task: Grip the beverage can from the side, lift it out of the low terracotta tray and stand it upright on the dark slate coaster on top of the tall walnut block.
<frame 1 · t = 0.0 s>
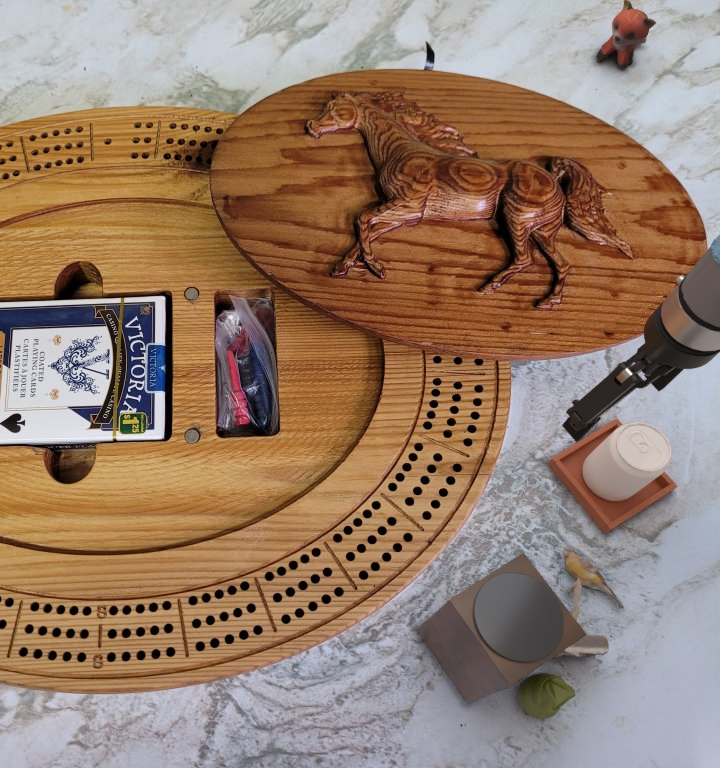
hand: (612, 407, 105), 21 cm above the countertop, tool pointing down, fingers open, 13 cm apart
green pointed bulb: (532, 698, 109), on the countertop
beverage can: (608, 477, 122), resting on tray
tray: (607, 477, 122), on the countertop
stuffed fox: (620, 57, 160), on the countertop
coaster: (517, 617, 94), resting on stand
decorative sculpture: (577, 613, 114), on the countertop
stand: (473, 644, 112), on the countertop
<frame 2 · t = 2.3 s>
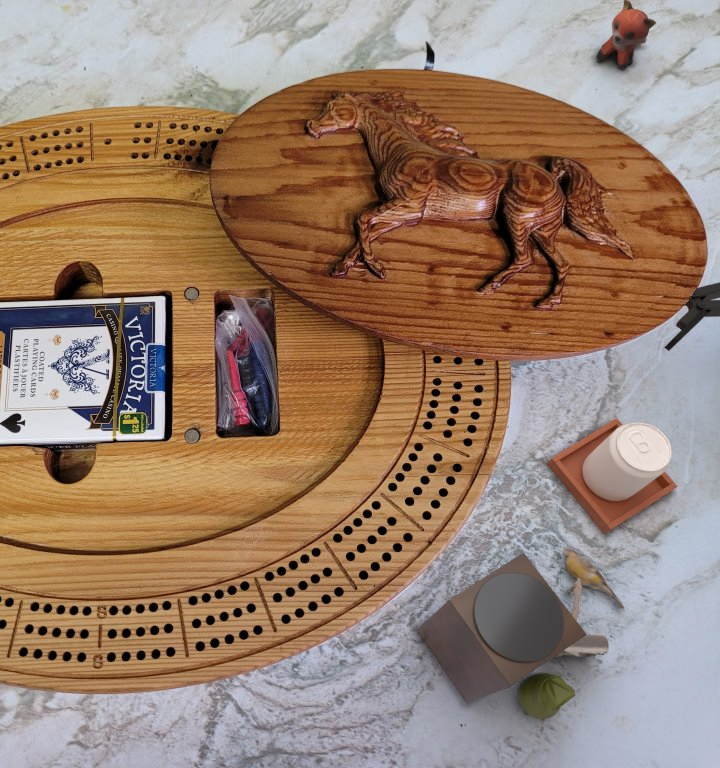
hand: (715, 379, 106), 20 cm above the countertop, tool horizontal, fingers open, 13 cm apart
nothing on the countertop moved.
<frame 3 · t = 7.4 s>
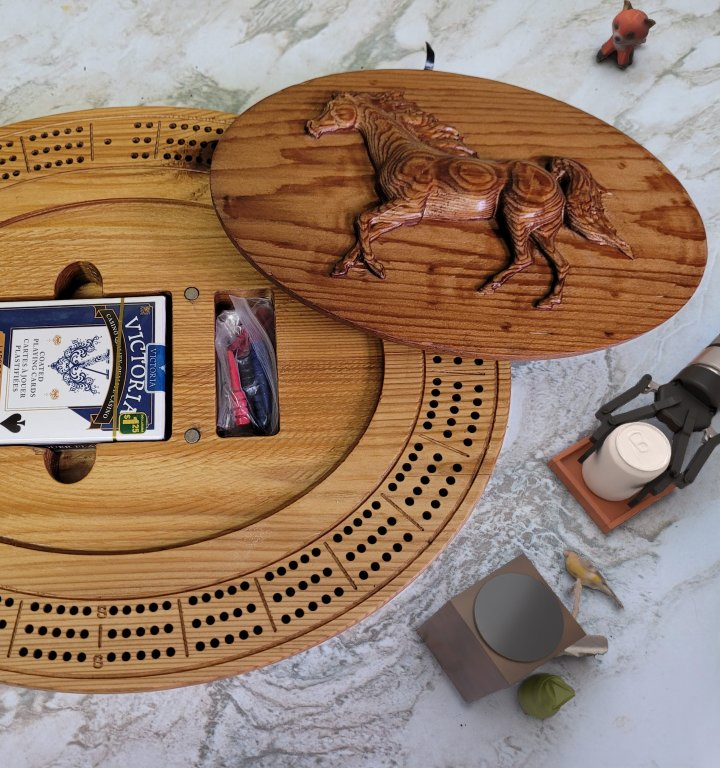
hand: (607, 480, 114), 7 cm above the countertop, tool horizontal, fingers closed on beverage can, 8 cm apart
beverage can: (607, 476, 122), resting on tray, touching gripper
everything else where it was.
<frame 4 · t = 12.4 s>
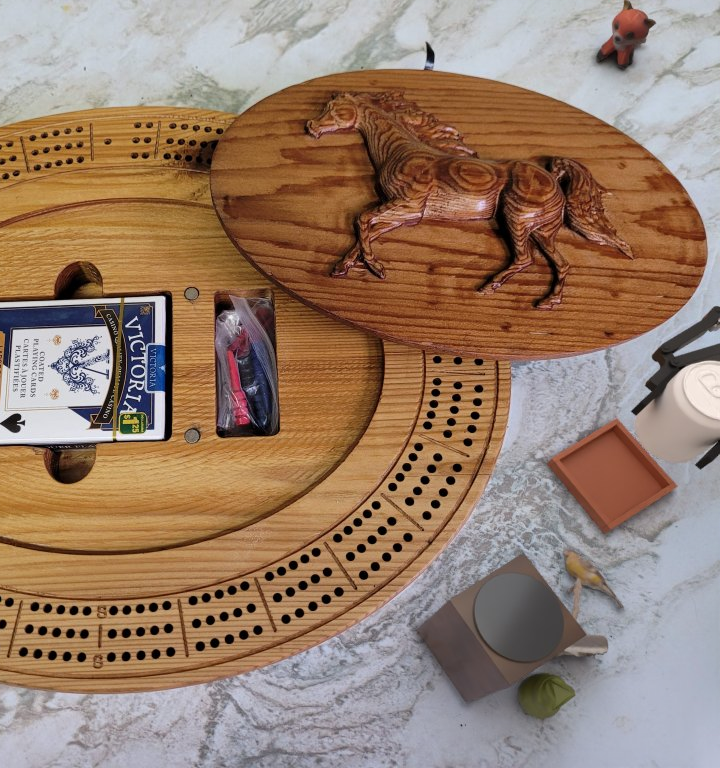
hand: (670, 435, 91), 32 cm above the countertop, tool horizontal, fingers closed on beverage can, 8 cm apart
beverage can: (666, 434, 99), point 24 cm above the countertop, touching gripper
everything else where it was.
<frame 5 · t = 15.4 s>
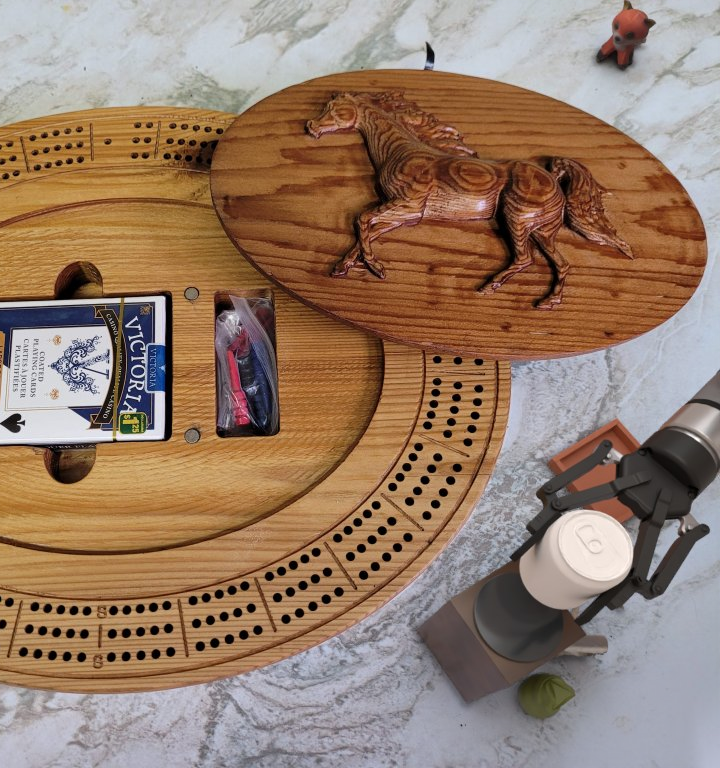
hand: (548, 588, 84), 32 cm above the countertop, tool horizontal, fingers closed on beverage can, 8 cm apart
beverage can: (554, 574, 92), point 25 cm above the countertop, touching gripper
everything else where it was.
when the fingers open (28 cm above the countertop, at t = 17.7 s): beverage can stays where it is, resting on coaster.
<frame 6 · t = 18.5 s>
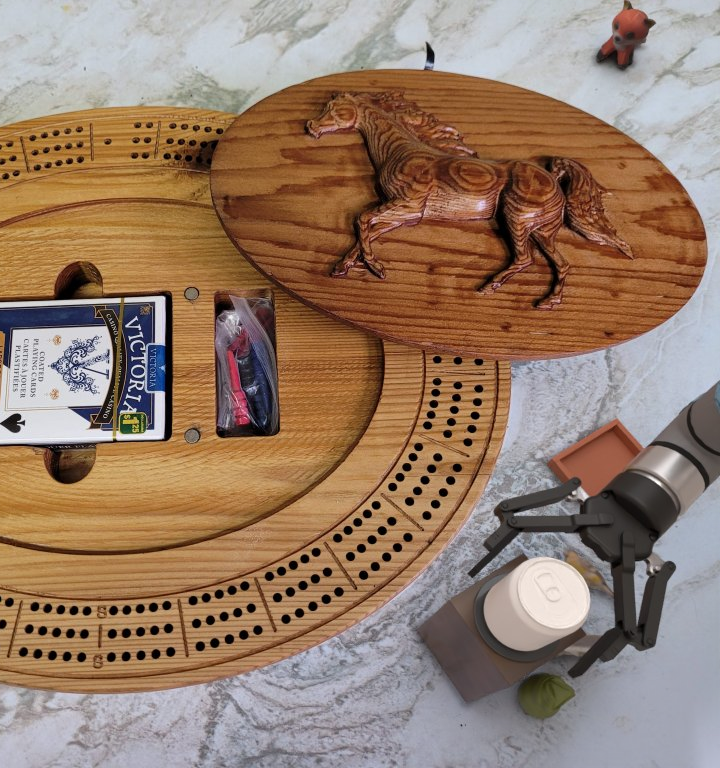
hand: (521, 622, 86), 28 cm above the countertop, tool horizontal, fingers open, 13 cm apart
beverage can: (517, 615, 94), point 20 cm above the countertop, touching coaster
everything else where it was.
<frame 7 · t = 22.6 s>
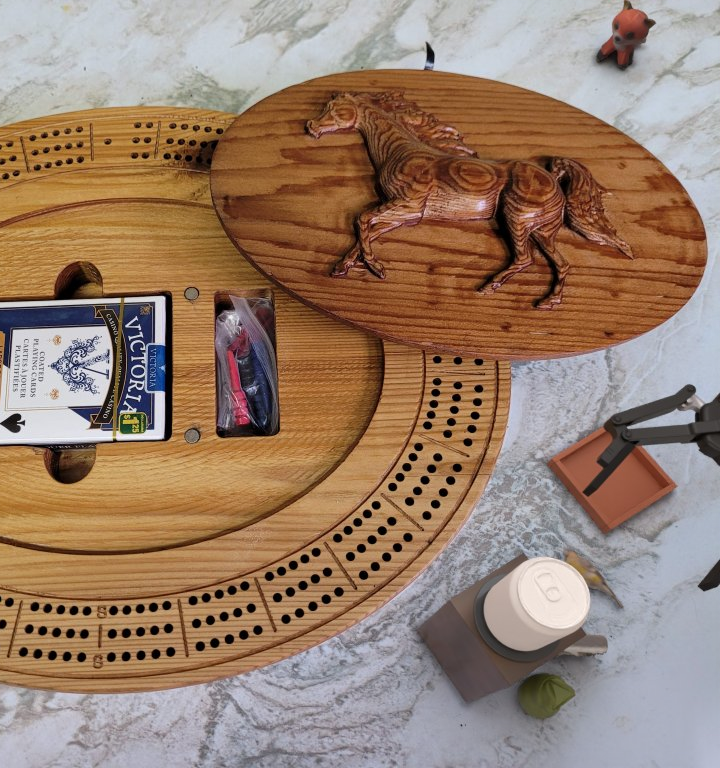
hand: (646, 537, 83), 35 cm above the countertop, tool horizontal, fingers open, 13 cm apart
nothing on the countertop moved.
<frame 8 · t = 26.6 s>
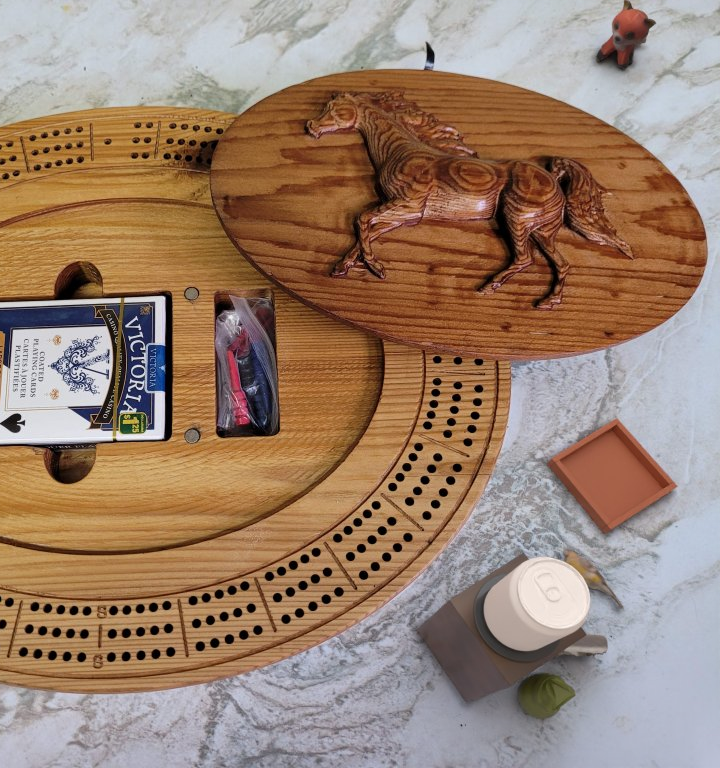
nothing on the countertop moved.
at the end: beverage can 0.1 cm off-centre on the coaster, point 0.4 cm above the coaster's base; beverage can tilted 0°; beverage can touching coaster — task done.
